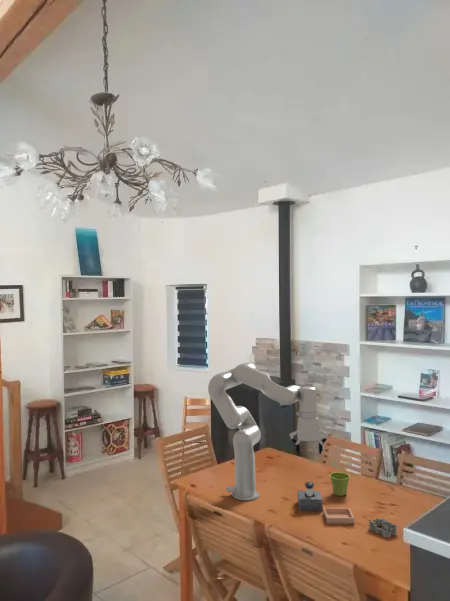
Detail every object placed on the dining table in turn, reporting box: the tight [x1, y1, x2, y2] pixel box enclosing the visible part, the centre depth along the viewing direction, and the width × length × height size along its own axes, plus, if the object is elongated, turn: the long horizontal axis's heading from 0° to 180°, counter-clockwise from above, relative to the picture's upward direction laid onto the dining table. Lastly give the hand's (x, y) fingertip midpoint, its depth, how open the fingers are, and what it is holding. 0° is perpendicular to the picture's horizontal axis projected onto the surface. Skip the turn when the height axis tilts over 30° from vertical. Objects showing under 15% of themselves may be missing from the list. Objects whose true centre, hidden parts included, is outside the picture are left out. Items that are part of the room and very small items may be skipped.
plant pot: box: [329, 471, 351, 497], centre depth 237 cm, size 9×9×9 cm
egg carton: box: [367, 517, 399, 538], centre depth 197 cm, size 11×8×4 cm
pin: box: [304, 481, 315, 497], centre depth 223 cm, size 4×4×10 cm
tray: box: [322, 507, 356, 525], centre depth 209 cm, size 11×10×2 cm
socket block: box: [296, 490, 324, 512], centre depth 223 cm, size 10×10×5 cm
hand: (309, 452), depth 223 cm, fingers open, 9 cm apart
